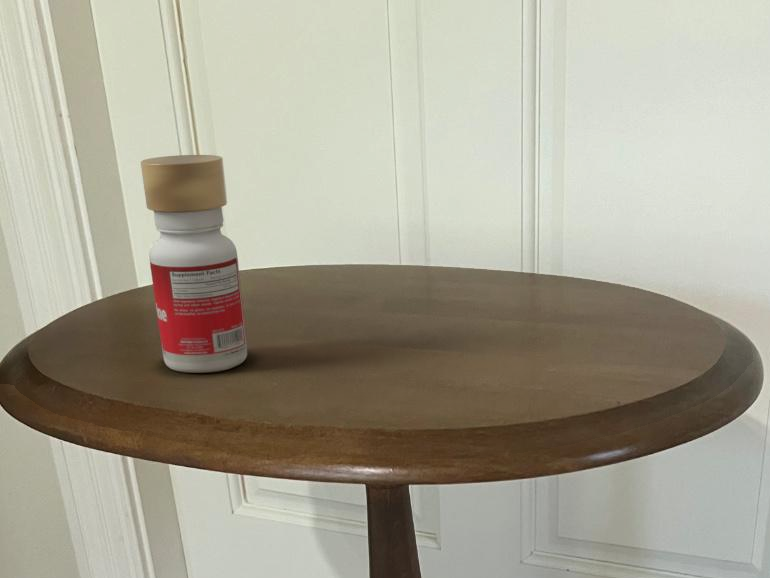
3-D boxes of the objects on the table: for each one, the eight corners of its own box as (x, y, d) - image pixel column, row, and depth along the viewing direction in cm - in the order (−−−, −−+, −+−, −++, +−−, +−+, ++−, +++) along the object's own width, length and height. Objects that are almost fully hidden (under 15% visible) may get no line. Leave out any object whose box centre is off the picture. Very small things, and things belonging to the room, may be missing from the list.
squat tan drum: (140, 213, 72) (133, 165, 71) (154, 201, 77) (148, 156, 76) (222, 210, 73) (217, 162, 71) (231, 198, 77) (226, 153, 76)
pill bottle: (173, 352, 83) (153, 200, 78) (253, 350, 83) (238, 198, 78) (156, 376, 78) (132, 214, 72) (241, 374, 77) (224, 211, 72)
